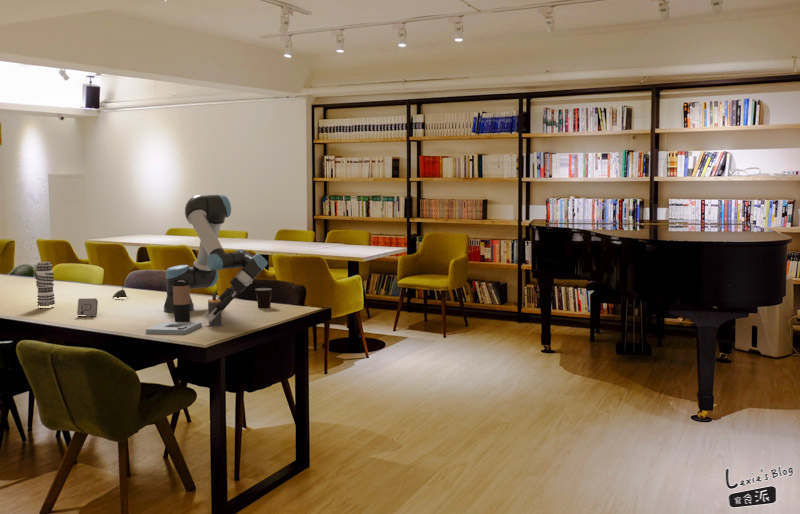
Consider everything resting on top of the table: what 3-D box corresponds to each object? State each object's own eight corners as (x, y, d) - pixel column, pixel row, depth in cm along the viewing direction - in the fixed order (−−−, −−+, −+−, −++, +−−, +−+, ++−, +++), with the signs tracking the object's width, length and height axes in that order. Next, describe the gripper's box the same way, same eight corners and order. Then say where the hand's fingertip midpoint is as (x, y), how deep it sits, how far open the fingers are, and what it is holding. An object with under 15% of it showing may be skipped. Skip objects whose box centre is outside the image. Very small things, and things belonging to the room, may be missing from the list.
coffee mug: (268, 309, 374) (268, 290, 373) (253, 308, 376) (252, 290, 375) (276, 305, 386) (276, 287, 385) (262, 305, 387) (261, 287, 386)
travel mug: (176, 320, 346) (174, 279, 344) (192, 319, 346) (190, 279, 344) (172, 322, 338) (170, 281, 336) (188, 322, 339) (187, 281, 337)
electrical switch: (76, 317, 356) (76, 298, 356) (81, 316, 361) (81, 298, 361) (95, 317, 356) (95, 298, 356) (99, 316, 361) (99, 298, 361)
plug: (208, 324, 333) (207, 293, 331) (219, 323, 335) (218, 292, 333) (210, 326, 328) (209, 294, 327) (221, 325, 330) (220, 293, 329)
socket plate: (146, 333, 313) (145, 327, 313) (165, 325, 331) (164, 320, 331) (184, 334, 311) (184, 328, 310) (201, 326, 328) (201, 321, 328)
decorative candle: (55, 305, 392) (53, 261, 390) (55, 308, 384) (53, 262, 381) (37, 307, 388) (34, 261, 386) (36, 309, 380) (34, 263, 377)
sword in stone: (108, 298, 417) (108, 278, 416) (120, 297, 423) (120, 277, 422) (119, 300, 411) (119, 279, 410) (131, 299, 418) (130, 278, 417)
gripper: (251, 289, 328) (217, 327, 322) (242, 284, 345) (209, 320, 340) (239, 278, 325) (204, 316, 320) (231, 274, 342) (197, 310, 337)
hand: (207, 318), depth 330 cm, fingers open, 6 cm apart
